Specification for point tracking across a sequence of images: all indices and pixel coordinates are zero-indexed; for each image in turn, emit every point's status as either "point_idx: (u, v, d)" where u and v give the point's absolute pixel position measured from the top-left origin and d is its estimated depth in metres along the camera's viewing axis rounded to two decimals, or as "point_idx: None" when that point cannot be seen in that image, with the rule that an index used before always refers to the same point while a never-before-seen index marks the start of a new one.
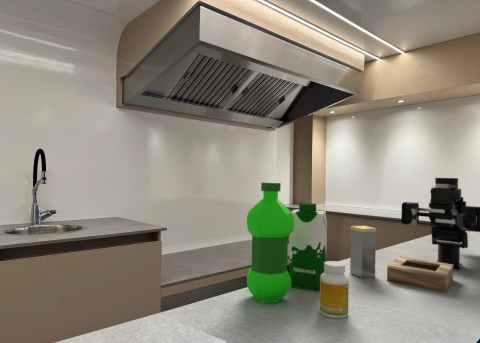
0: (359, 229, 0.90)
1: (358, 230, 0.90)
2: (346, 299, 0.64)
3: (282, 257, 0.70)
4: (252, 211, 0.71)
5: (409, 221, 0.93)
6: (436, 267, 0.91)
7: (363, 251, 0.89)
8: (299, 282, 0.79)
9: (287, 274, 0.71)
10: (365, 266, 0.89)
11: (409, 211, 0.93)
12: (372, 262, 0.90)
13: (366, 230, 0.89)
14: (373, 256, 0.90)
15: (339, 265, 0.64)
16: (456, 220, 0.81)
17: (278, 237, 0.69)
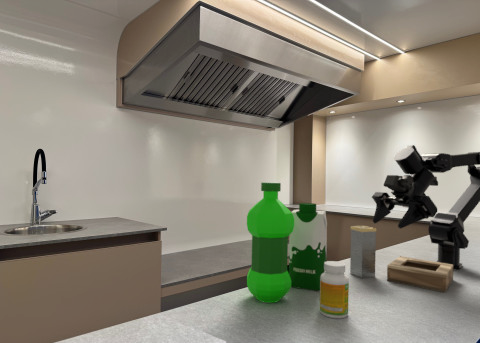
0: (359, 229, 0.90)
1: (358, 230, 0.90)
2: (346, 299, 0.64)
3: (282, 257, 0.70)
4: (252, 211, 0.71)
5: None
6: (436, 267, 0.91)
7: (363, 251, 0.89)
8: (299, 282, 0.79)
9: (287, 274, 0.71)
10: (365, 266, 0.89)
11: None
12: (372, 262, 0.90)
13: (366, 230, 0.89)
14: (373, 256, 0.90)
15: (339, 265, 0.64)
16: (399, 226, 0.90)
17: (278, 237, 0.69)
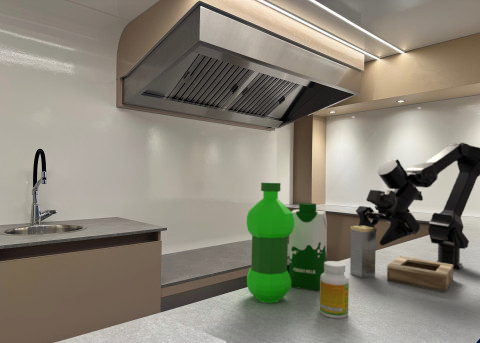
0: (359, 229, 0.90)
1: (357, 230, 0.90)
2: (346, 299, 0.64)
3: (282, 257, 0.70)
4: (252, 211, 0.71)
5: None
6: (436, 267, 0.91)
7: (363, 251, 0.89)
8: (299, 282, 0.79)
9: (287, 274, 0.71)
10: (365, 266, 0.89)
11: None
12: (372, 262, 0.90)
13: (366, 230, 0.89)
14: (373, 256, 0.90)
15: (339, 265, 0.64)
16: (380, 243, 0.88)
17: (278, 237, 0.69)
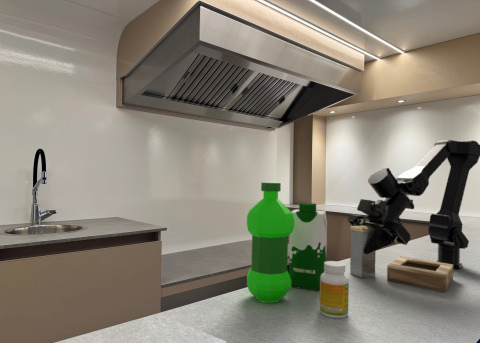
0: (359, 229, 0.90)
1: (358, 230, 0.90)
2: (346, 299, 0.64)
3: (282, 257, 0.70)
4: (252, 211, 0.71)
5: None
6: (436, 267, 0.91)
7: (363, 251, 0.89)
8: (299, 282, 0.79)
9: (287, 274, 0.71)
10: (365, 266, 0.89)
11: None
12: (372, 262, 0.90)
13: (366, 230, 0.89)
14: (373, 256, 0.90)
15: (339, 265, 0.64)
16: (365, 252, 0.89)
17: (278, 237, 0.69)
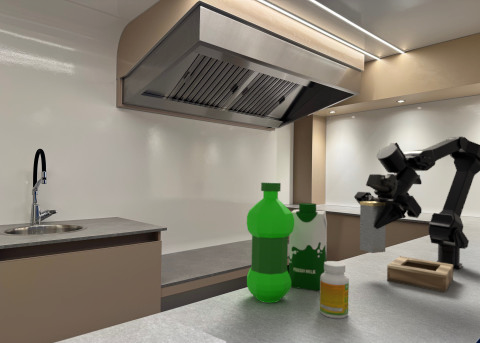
0: (369, 204, 0.89)
1: (368, 205, 0.89)
2: (346, 299, 0.64)
3: (282, 257, 0.70)
4: (252, 211, 0.71)
5: None
6: (436, 267, 0.91)
7: (374, 225, 0.88)
8: (299, 282, 0.79)
9: (287, 274, 0.71)
10: (375, 241, 0.88)
11: None
12: (382, 236, 0.89)
13: (376, 204, 0.88)
14: (383, 231, 0.89)
15: (339, 265, 0.64)
16: (376, 227, 0.88)
17: (278, 237, 0.69)
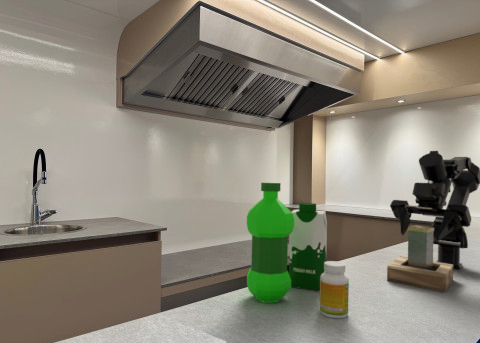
0: (422, 230, 0.85)
1: (419, 231, 0.86)
2: (346, 299, 0.64)
3: (282, 257, 0.70)
4: (252, 211, 0.71)
5: None
6: (436, 267, 0.91)
7: (427, 252, 0.85)
8: (299, 282, 0.79)
9: (287, 274, 0.71)
10: (428, 268, 0.86)
11: None
12: (431, 262, 0.87)
13: (429, 230, 0.85)
14: (432, 256, 0.87)
15: (339, 265, 0.64)
16: (437, 238, 0.84)
17: (278, 237, 0.69)
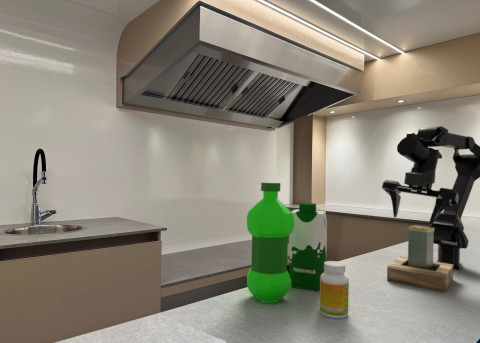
0: (422, 230, 0.86)
1: (420, 231, 0.86)
2: (346, 299, 0.64)
3: (282, 257, 0.70)
4: (252, 211, 0.71)
5: None
6: (436, 267, 0.91)
7: (427, 252, 0.85)
8: (299, 282, 0.79)
9: (287, 274, 0.71)
10: (428, 268, 0.86)
11: None
12: (431, 262, 0.87)
13: (429, 230, 0.86)
14: (432, 257, 0.87)
15: (339, 265, 0.64)
16: (430, 224, 0.91)
17: (278, 237, 0.69)
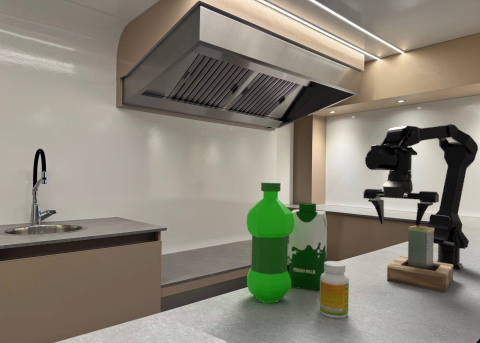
0: (422, 230, 0.86)
1: (420, 231, 0.86)
2: (346, 299, 0.64)
3: (282, 257, 0.70)
4: (252, 211, 0.71)
5: None
6: (436, 267, 0.91)
7: (427, 252, 0.85)
8: (299, 282, 0.79)
9: (287, 274, 0.71)
10: (428, 268, 0.86)
11: None
12: (431, 262, 0.87)
13: (429, 230, 0.86)
14: (432, 257, 0.87)
15: (339, 265, 0.64)
16: None
17: (278, 237, 0.69)
